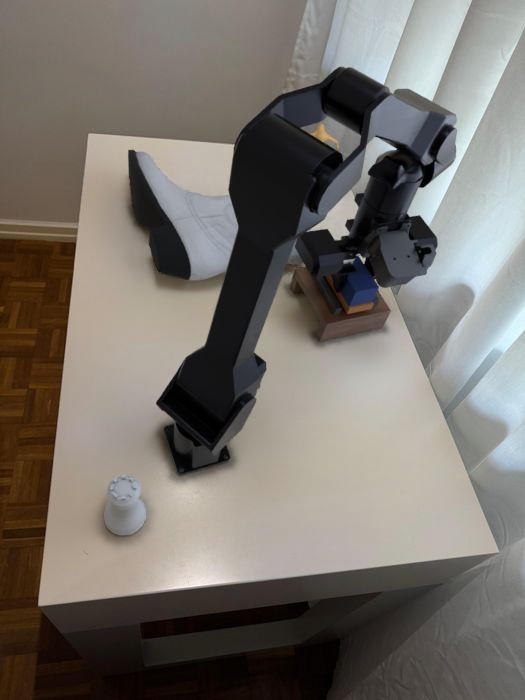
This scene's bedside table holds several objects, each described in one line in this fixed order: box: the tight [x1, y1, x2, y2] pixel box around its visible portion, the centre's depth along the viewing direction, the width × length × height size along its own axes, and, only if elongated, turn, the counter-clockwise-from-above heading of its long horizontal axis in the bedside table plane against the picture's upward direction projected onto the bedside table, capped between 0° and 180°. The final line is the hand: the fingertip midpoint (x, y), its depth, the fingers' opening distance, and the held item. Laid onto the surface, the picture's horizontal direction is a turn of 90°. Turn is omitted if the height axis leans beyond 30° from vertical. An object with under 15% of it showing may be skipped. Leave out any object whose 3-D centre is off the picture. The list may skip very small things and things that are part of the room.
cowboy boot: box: [127, 149, 312, 282], centre depth 90 cm, size 10×28×25 cm
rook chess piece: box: [103, 474, 147, 536], centre depth 59 cm, size 4×4×8 cm
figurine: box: [310, 123, 340, 151], centre depth 99 cm, size 8×6×12 cm
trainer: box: [325, 256, 380, 314], centre depth 81 cm, size 9×4×4 cm, turn 22°
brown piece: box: [289, 266, 392, 343], centre depth 84 cm, size 11×11×6 cm
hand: (349, 288), depth 81 cm, fingers closed on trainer, 4 cm apart
